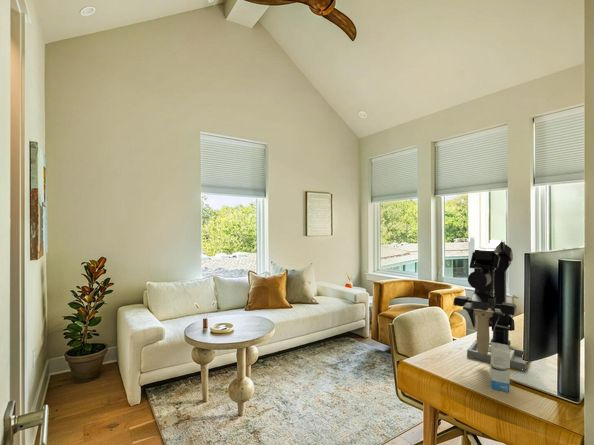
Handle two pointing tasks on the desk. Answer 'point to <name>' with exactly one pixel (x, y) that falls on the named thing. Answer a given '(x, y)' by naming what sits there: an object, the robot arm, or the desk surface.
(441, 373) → the desk surface
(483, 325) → the handle
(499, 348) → the ink box
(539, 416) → the desk surface
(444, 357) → the desk surface
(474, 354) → the walled box
